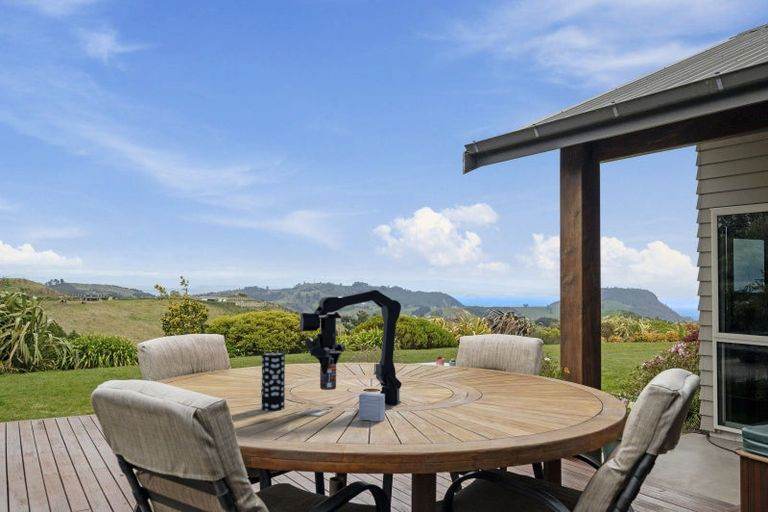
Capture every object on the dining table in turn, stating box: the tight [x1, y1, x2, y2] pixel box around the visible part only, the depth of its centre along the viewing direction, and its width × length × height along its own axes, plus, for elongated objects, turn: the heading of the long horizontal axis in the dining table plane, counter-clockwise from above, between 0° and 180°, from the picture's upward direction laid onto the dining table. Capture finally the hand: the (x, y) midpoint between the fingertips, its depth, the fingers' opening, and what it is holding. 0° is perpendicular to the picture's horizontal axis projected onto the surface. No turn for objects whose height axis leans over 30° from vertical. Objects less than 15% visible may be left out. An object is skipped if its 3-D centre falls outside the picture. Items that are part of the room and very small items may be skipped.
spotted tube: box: [261, 352, 286, 412], centre depth 225 cm, size 8×8×20 cm
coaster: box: [298, 409, 330, 417], centre depth 216 cm, size 8×8×1 cm
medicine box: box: [358, 392, 386, 422], centre depth 206 cm, size 8×4×9 cm, turn 71°
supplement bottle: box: [319, 358, 337, 391], centre depth 226 cm, size 6×6×11 cm
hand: (328, 373), depth 226 cm, fingers closed on supplement bottle, 6 cm apart
